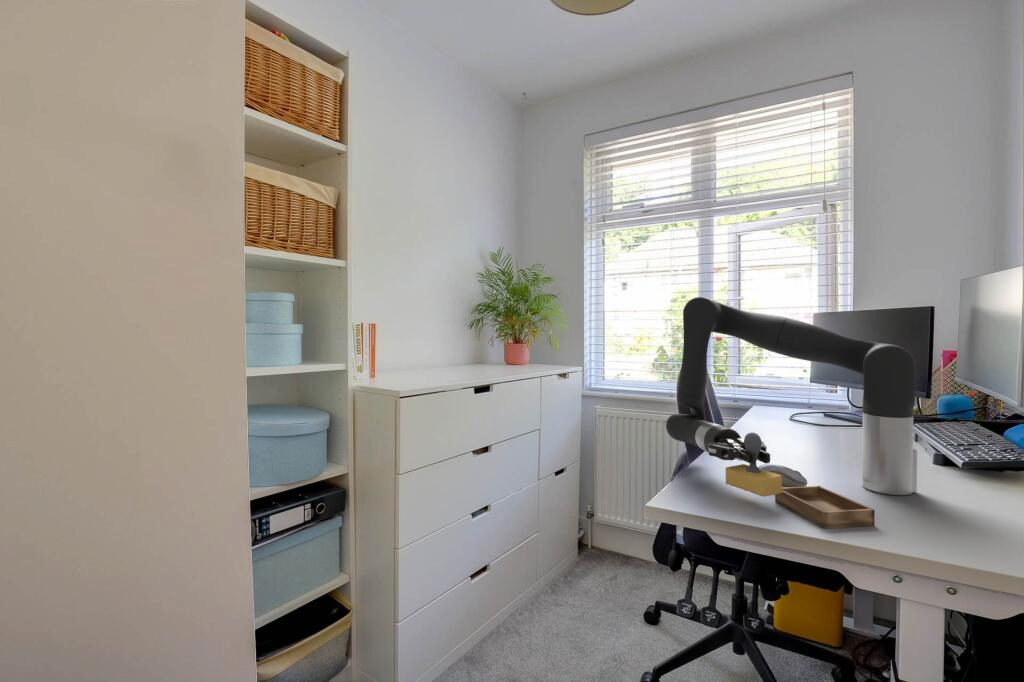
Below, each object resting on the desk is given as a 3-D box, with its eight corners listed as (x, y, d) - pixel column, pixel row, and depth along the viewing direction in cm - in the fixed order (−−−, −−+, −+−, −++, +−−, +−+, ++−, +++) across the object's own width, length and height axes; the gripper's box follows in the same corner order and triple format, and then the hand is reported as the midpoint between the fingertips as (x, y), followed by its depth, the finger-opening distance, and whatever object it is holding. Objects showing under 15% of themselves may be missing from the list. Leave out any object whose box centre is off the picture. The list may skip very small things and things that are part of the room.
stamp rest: (819, 499, 106) (819, 485, 106) (874, 525, 92) (874, 509, 92) (775, 501, 105) (775, 488, 105) (824, 528, 91) (824, 512, 91)
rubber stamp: (783, 492, 102) (782, 435, 101) (763, 497, 100) (762, 438, 99) (743, 479, 111) (742, 427, 111) (724, 483, 109) (723, 429, 108)
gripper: (690, 426, 118) (729, 442, 101) (744, 423, 120) (792, 439, 103) (690, 457, 119) (730, 479, 101) (744, 454, 120) (792, 474, 103)
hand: (761, 458), depth 102 cm, fingers closed on rubber stamp, 2 cm apart
